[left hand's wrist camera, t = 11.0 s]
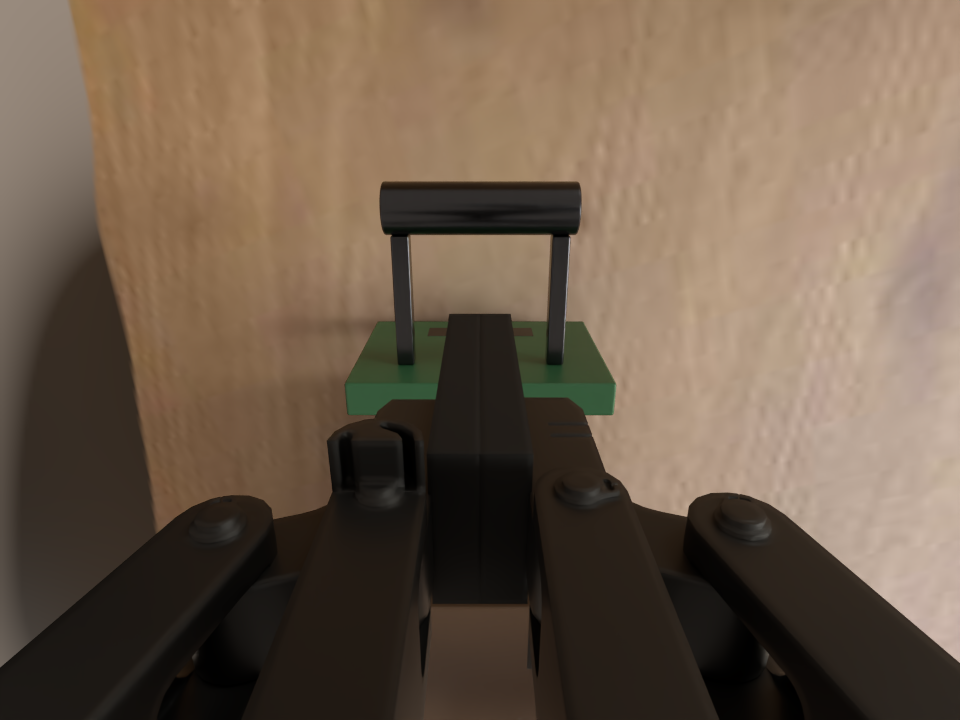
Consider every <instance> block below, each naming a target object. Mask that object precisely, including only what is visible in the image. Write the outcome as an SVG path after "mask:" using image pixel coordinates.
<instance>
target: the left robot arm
mask: <svg viewBox="0 0 960 720" xmlns="http://www.w3.org/2000/svg"><path fill="white" fill-rule="evenodd" d="M327 446H328V455H329V464H330V473H331V482H332V491H333V492H332V494H331V497H330V499H329V502H328V504H327V505H326V506H324V507H321V508H319V509H317V510H313V511H310V512H306V513H303V514H298V515H293V516H288V517H283V518H278V519H274V520H273V516H272V510H271V508H270V507H269V506H268V505H267V504H266V503H265V502H264V500H261V499H258V498H255V497H252V496H240V495H230V496H223V497H218V498H213V499H210V500H208V501H205V502H203V503H200V504H198V505H195V506H193V507H191V508H189V509H188V510H186V511H185V512H183V513H182V514H180V515H179V516H177V517H176V518H175V519H173V520H172V521H171V522H170V523H169V524H168V525H166V526H165V527H164V528H163V529H162V530H160V531H159V532H158V533H157V534H156V535H155V536H153V537H152V538H151V539H150V540H149V541H148V542H146V543H145V544H144V545H143V546H142V547H141V548H139V549H138V550H137V551H136V552H135V553H134V554H132V555H131V556H130V557H129V558H128V559H127V560H125V561H124V562H123V563H122V564H121V565H120V566H119V567H117V568H116V569H115V570H114V571H113V572H111V573H110V574H109V575H108V576H107V577H106V578H104V579H103V580H102V581H101V582H100V583H99V584H97V585H96V586H95V587H94V588H93V589H92V590H90V591H89V592H88V593H87V594H86V595H85V596H83V597H82V598H81V599H80V600H79V601H78V602H76V603H75V604H74V605H73V606H72V607H71V608H69V609H68V610H67V611H66V612H65V613H64V614H62V615H61V616H60V617H59V618H58V619H57V620H55V621H54V622H53V623H52V624H51V625H50V626H48V627H47V628H46V629H45V630H44V631H42V632H41V633H40V634H39V635H38V636H37V637H35V638H34V639H33V640H32V641H31V642H30V643H28V644H27V645H26V646H25V647H24V648H23V649H21V650H20V651H19V652H18V653H17V654H16V655H14V656H13V657H12V658H11V659H10V660H9V661H8V662H6V663H5V664H4V665H3V666H2V667H0V720H423V719H424V709H425V698H426V687H427V676H428V665H429V655H430V644H431V633H432V629H431V597H432V604H528V594H529V603H530V605H529V629H528V653H527V669H532V675H533V686H534V697H535V708H536V719H537V720H960V663H959V662H958V661H957V660H956V659H954V658H953V657H952V656H951V655H950V654H948V653H947V652H946V651H945V650H944V649H943V648H941V647H940V646H939V645H938V644H937V643H936V642H934V641H933V640H932V639H931V638H930V637H928V636H927V635H926V634H925V633H924V632H923V631H921V630H920V629H919V628H918V627H917V626H915V625H914V624H913V623H912V622H911V621H910V620H908V619H907V618H906V617H905V616H904V615H903V614H901V613H900V612H899V611H898V610H897V609H895V608H894V607H893V606H892V605H891V604H890V603H888V602H887V601H886V600H885V599H884V598H882V597H881V596H880V595H879V594H878V593H877V592H875V591H874V590H873V589H872V588H871V587H870V586H868V585H867V584H866V583H865V582H864V581H862V580H861V579H860V578H859V577H858V576H857V575H855V574H854V573H853V572H852V571H851V570H849V569H848V568H847V567H846V566H845V565H844V564H842V563H841V562H840V561H839V560H838V559H837V558H835V557H834V556H833V555H832V554H831V553H829V552H828V551H827V550H826V549H825V548H824V547H822V546H821V545H820V544H819V543H818V542H816V541H815V540H814V539H813V538H812V537H811V536H809V535H808V534H807V533H806V532H805V531H804V530H802V529H801V528H800V527H799V526H798V525H796V524H795V523H794V522H793V521H792V520H791V519H789V518H788V517H787V516H786V515H785V514H783V513H782V512H780V511H778V510H777V509H775V508H774V507H772V506H771V505H769V504H767V503H765V502H762V501H760V500H757V499H754V498H752V497H750V496H746V495H742V494H740V495H739V494H736V493H710V494H707V495H704V496H701V497H698V498H696V499H695V500H694V501H693V502H692V503H691V504H690V506H689V510H688V516H687V517H684V516H679V515H674V514H669V513H665V512H660V511H656V510H652V509H648V508H645V507H642V506H640V505H638V504H635V503H633V502H632V501H631V499H630V496H629V494H628V491H627V490H626V488H625V487H624V486H623V484H622V483H621V482H620V481H619V480H618V479H616V478H615V477H613V476H611V475H610V474H608V473H606V472H605V469H604V466H603V463H602V461H601V458H600V455H599V452H598V450H597V447H596V444H595V441H594V439H593V437H592V433H591V431H590V428H589V425H588V422H587V420H586V417H585V414H584V411H583V409H582V408H581V407H579V406H578V405H577V404H576V403H574V402H573V401H572V400H571V399H569V398H568V397H524V393H523V387H522V381H521V375H520V369H519V363H518V357H517V351H516V344H515V338H514V332H513V326H512V320H511V314H449V320H448V326H447V332H446V338H445V344H444V351H443V357H442V363H441V369H440V375H439V381H438V387H437V393H436V399H392V400H391V401H389V402H388V403H387V404H386V405H384V406H383V407H382V408H381V409H379V410H378V411H377V414H376V416H375V419H367V420H362V421H359V422H355V423H351V424H348V425H346V426H344V427H342V428H341V429H339V430H337V431H335V432H334V433H333V434H332V435H331V437H330V438H329V439H328V440H327Z"/></svg>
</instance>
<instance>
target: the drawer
mask: <svg viewBox="0 0 960 720" xmlns="http://www.w3.org/2000/svg"><path fill="white" fill-rule="evenodd" d="M581 205H582V199H581V188H580V184H579V182H382V184H381V188H380V219H381V226H382V230H383V232H384V234H385V235H392V236H391V238H390V239H391V256H392V274H393V292H394V309H395V322H378V323H377V324H376V326H375V328H374V330H373V332H372V334H371V336H370V338H369V340H368V341H367V343H366V345H365V347H364V349H363V351H362V353H361V355H360V356H359V358H358V360H357V362H356V364H355V366H354V368H353V370H352V371H351V373H350V375H349V377H348V379H347V381H346V383H345V394H346V405H347V413H348V415H376V414H377V411H378V410H379V409H381V408H382V407H383V406H384V405H386V404H387V403H388V402H389V401H391V400H392V399H436V393H437V387H438V381H439V375H440V369H441V363H442V357H443V351H444V344H445V338H446V332H447V326H448V322H414V306H413V283H412V261H411V238H410V235H551V240H550V262H549V284H548V306H547V322H512V326H513V332H514V338H515V344H516V351H517V357H518V363H519V369H520V375H521V381H522V387H523V393H524V397H568V398H569V399H571V400H572V401H573V402H574V403H576V404H577V405H578V406H579V407H581V408H582V409H583V411H584V414H585V415H613V413H614V404H615V394H616V383H615V381H614V379H613V377H612V375H611V374H610V372H609V370H608V368H607V366H606V364H605V362H604V360H603V358H602V357H601V355H600V353H599V351H598V349H597V347H596V345H595V343H594V342H593V340H592V338H591V336H590V334H589V332H588V330H587V328H586V326H585V325H584V323H583V322H566V308H567V291H568V273H569V256H570V239H571V238H570V236H569V235H576V234H577V233H578V230H579V226H580V220H581Z"/></svg>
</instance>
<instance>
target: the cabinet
mask: <svg viewBox="0 0 960 720" xmlns="http://www.w3.org/2000/svg"><path fill="white" fill-rule="evenodd" d="M529 605H530V603H529V594H528V604H432V597H431V629H432V633H431V644H430V655H429V665H428V676H427V687H426V698H425V709H424V719H423V720H537V719H536V708H535V697H534V686H533V675H532V669H527V653H528V629H529Z"/></svg>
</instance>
